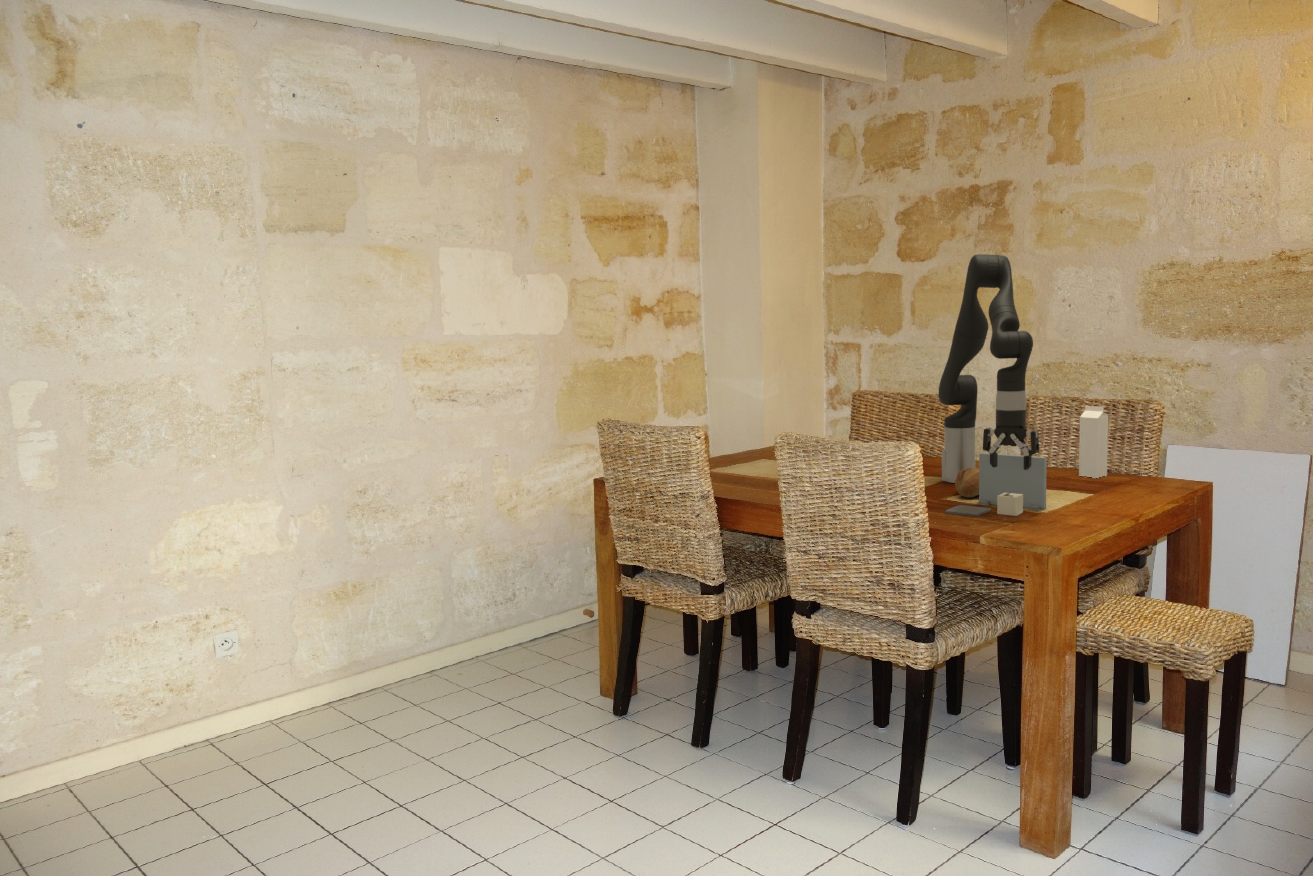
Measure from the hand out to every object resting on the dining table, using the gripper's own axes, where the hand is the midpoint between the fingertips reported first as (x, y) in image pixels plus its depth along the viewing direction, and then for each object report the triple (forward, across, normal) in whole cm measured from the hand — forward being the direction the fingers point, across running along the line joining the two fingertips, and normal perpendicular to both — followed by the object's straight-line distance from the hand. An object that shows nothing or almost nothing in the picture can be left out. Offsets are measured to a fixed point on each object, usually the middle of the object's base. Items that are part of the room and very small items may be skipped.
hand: (1010, 468), depth 263 cm
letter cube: (+12, 0, 0) cm, 12 cm away
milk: (+12, +2, +62) cm, 63 cm away
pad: (+12, -10, -4) cm, 16 cm away
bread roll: (+12, -18, +18) cm, 28 cm away
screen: (+12, -3, +9) cm, 15 cm away
